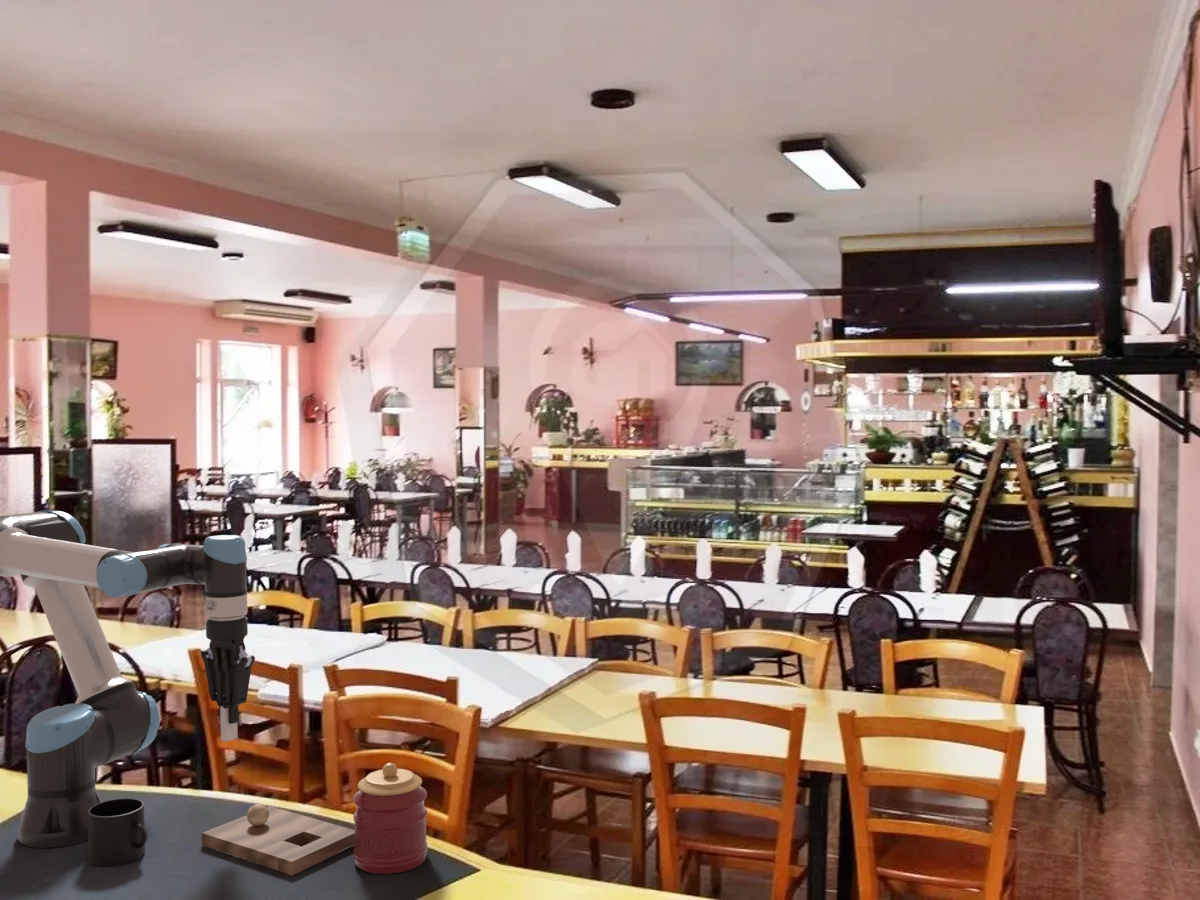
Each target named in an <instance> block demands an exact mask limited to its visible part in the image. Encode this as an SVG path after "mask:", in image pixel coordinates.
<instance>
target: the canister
mask: <svg viewBox="0 0 1200 900" xmlns="http://www.w3.org/2000/svg"><path fill="white" fill-rule="evenodd" d="M422 784H423V779H422V778H421V776H419V775H417V774H415V773H414V772H412V771H411V770H408V769H405V768H404V769H403V768H398V767H397V765H396V764H395V763H393V762H387V763H385V764H384V765H383V767H382V769H378V770H375V771H372V772H369V773H368V774H367V775H366V777H363V778H362V779H360V780H359V781H358V784H357V789H359V790H358V791H357V792H356V793H355V794H354V795H353V798H352V801H353V803H354V804H355V805H356V809H355V810H356V811H355V812H354V814H353V817H352V818H353V821H354V830H355V846H354V847H353V857H354V861H355V865H356V867H357V868H358V869H360V870H361V871H364V872H367V873H369V874H378V875H391V874H399V873H400V874H401V873H405V872H407V871H410V870H413V869H416V868H417V867H419V866H421V865H422V864H423V863H424V862H425V861H426V859H427V853H428V841H427V815H428V809H427V808H426V807H425V800H426V798H427V795H428V792H427V790H426V789H425V788H424V787H422V786H421V785H422Z"/></svg>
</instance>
